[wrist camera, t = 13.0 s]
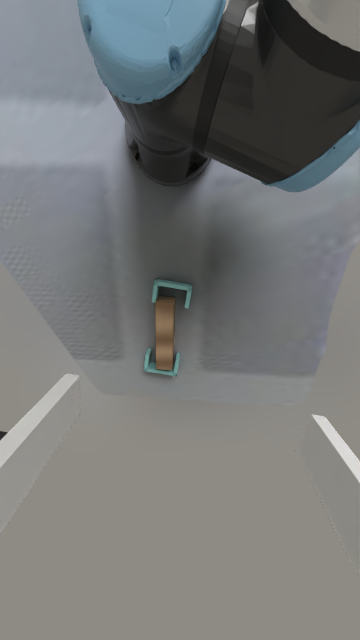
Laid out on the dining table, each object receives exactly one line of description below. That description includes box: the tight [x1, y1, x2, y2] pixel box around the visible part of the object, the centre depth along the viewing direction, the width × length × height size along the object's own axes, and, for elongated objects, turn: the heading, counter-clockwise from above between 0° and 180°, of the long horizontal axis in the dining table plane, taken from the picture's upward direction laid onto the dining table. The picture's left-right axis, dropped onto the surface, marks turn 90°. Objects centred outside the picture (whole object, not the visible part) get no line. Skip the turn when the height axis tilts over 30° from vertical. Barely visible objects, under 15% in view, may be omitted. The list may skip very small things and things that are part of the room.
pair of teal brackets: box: [144, 279, 192, 376], centre depth 46 cm, size 21×8×3 cm, turn 171°
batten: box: [155, 296, 175, 370], centre depth 46 cm, size 15×4×5 cm, turn 178°
